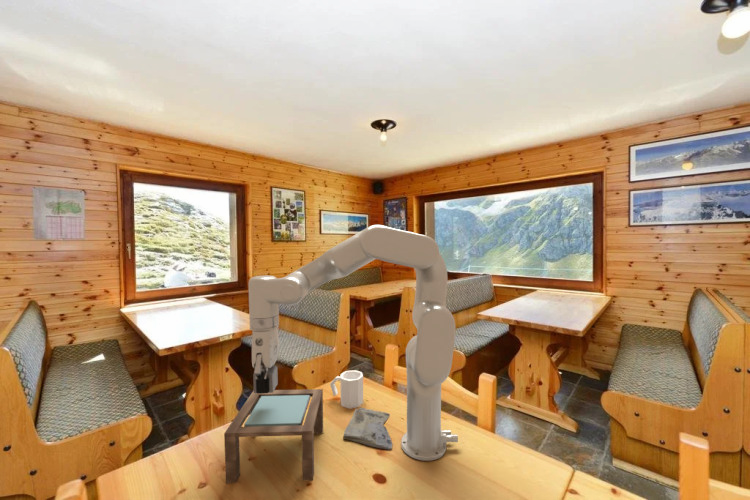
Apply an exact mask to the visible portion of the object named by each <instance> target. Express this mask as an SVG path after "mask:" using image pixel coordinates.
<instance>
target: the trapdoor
mask: <svg viewBox="0 0 750 500" xmlns="http://www.w3.org/2000/svg"><path fill="white" fill-rule="evenodd" d="M311 399H312V397H311V396H310V395H292V396H261V398H260V399H259V401H258V403H257V404H256V406H255V408H254V409H253V411H252V413H251V412H250V414H249V415H248V417H247V418H246V420H245V422H244V423H243V425H244V426H243V427H255V426H296V425H303V424H304V423H303V422H304V421H305V418H306V415H307V411H308V408H309V405H310V404H309V403H310V402H311Z"/></svg>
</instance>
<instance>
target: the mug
mask: <svg viewBox="0 0 750 500" xmlns="http://www.w3.org/2000/svg"><path fill="white" fill-rule="evenodd" d="M337 381H340V406H341V407H343V408H346V409H349V410H350V409H358V408H360V407H361V406H362V405H363V404H364V374H363V372H362V371H359V370H356V369H354V370H352V369H351V370H345V371H343V372H342V373H340V376H339V375H337V376H335V378H334V379H333V380H332V381H331V382H330V384H329V385H330V388H331V391H332V395H333V396H334V397H335V396H337V395H338V393H339V391H338V388H337V386H336V382H337ZM361 404H362V405H361Z"/></svg>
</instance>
